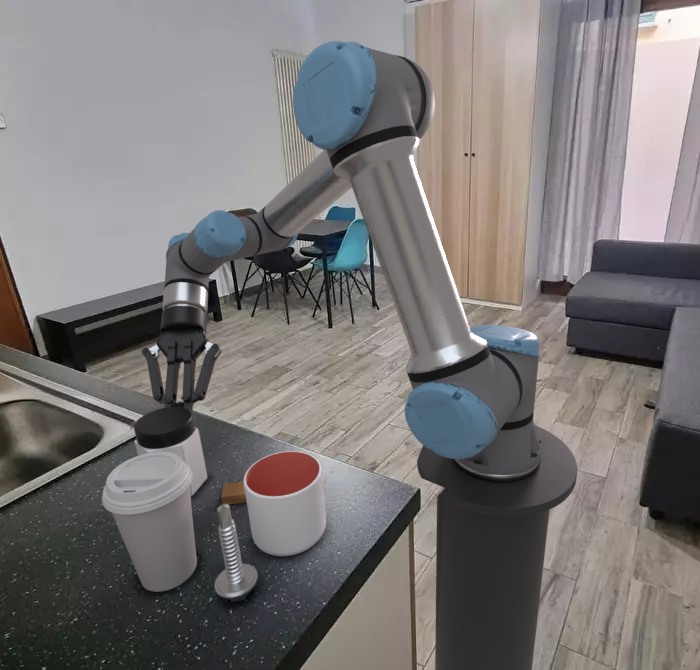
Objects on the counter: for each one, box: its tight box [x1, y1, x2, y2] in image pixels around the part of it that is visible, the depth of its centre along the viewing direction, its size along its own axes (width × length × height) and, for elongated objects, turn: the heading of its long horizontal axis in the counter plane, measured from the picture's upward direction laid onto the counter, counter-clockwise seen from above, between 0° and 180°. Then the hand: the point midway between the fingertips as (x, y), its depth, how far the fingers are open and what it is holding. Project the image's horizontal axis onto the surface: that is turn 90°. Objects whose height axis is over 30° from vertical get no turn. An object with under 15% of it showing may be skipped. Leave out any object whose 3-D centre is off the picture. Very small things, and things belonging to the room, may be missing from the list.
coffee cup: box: [101, 452, 198, 593], centre depth 59 cm, size 10×10×15 cm
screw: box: [214, 504, 259, 603], centre depth 56 cm, size 13×5×5 cm
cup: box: [243, 450, 327, 557], centre depth 65 cm, size 10×10×10 cm
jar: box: [133, 407, 208, 497], centre depth 75 cm, size 9×8×12 cm
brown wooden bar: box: [220, 481, 247, 505], centre depth 75 cm, size 13×3×2 cm, turn 100°
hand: (176, 443), depth 79 cm, fingers closed
